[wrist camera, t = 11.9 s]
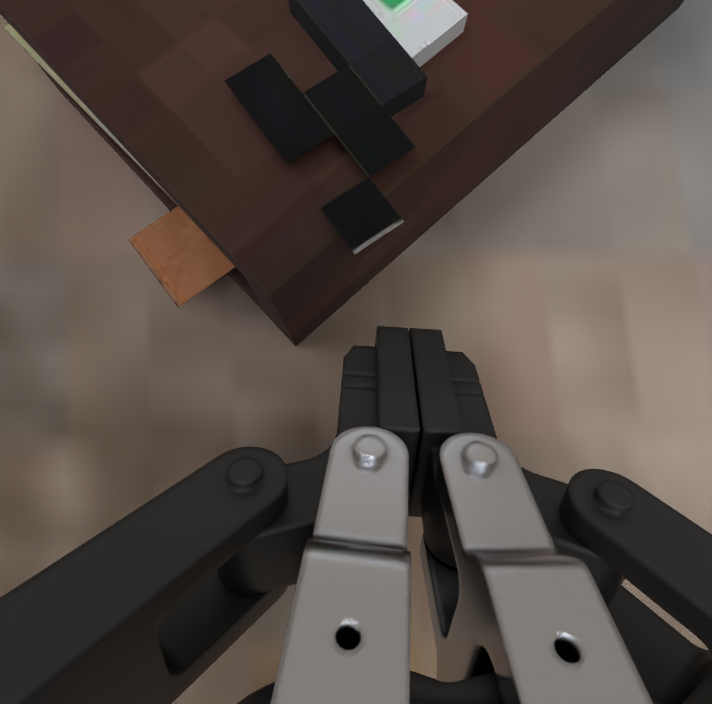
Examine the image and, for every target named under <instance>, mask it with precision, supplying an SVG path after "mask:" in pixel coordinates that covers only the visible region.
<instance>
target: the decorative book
mask: <svg viewBox="0 0 712 704" xmlns="http://www.w3.org/2000/svg"><path fill="white" fill-rule="evenodd" d="M683 1H684V0H0V14H1V15H2V16H3V17H4V18H5V19H6V21H7V22H8V24H6V25H5V26H3V28H4V29H5V30H6V31H7V32H8V33H9V34H10V35H11V36H12V37H13V38H14V39H15V40H16V41H17V42H18V43H19V44H20V45H21V46H22V47H23V48H24V49H25V50H26V51H27V52H28V53H29V54H30V55H31V56H32V57H33V59H34V60H35V61H36V62H37V63H38V65H39V66H40V67H41V68H42V70H43V71H44V72H45V73H46V75H47V76H48V77H49V78H50V80H51V81H52V82H53V83H54V85H55V86H56V87H57V88H58V89H59V91H60V92H61V93H62V94H63V95H64V96H65V97H66V98H67V99H68V100H69V101H70V103H71V104H72V105H73V106H74V107H75V108H76V109H77V110H78V111H79V112H80V113H81V114H82V116H83V117H84V118H85V119H86V120H87V121H88V122H89V123H90V124H91V125H92V126H93V127H94V129H95V130H96V131H97V132H98V133H99V134H100V135H101V136H102V137H103V138H104V139H105V140H106V141H107V143H108V144H109V145H110V146H111V147H112V148H113V149H114V150H115V151H116V152H117V153H118V154H119V156H120V157H121V158H122V159H123V160H124V161H125V162H126V163H127V164H128V165H129V166H130V167H131V169H132V170H133V171H134V172H135V173H136V174H137V175H138V176H139V177H140V178H141V179H142V180H143V182H144V183H145V184H146V185H147V186H148V187H149V188H150V189H151V190H152V191H153V192H154V193H155V195H156V196H157V197H158V198H159V199H160V200H161V201H162V202H163V203H164V204H165V205H166V206H167V207H168V209H169V210H170V212H169V213H167V214H166V215H164V216H163V217H161V218H160V219H158V220H157V221H155V222H154V223H152V224H151V225H149V226H148V227H146V228H145V229H143V230H142V231H140V232H139V233H137V234H136V235H134V236H133V237H131V238H130V239H128V240H129V241H130V243H131V244H132V246H133V247H134V248H135V250H136V251H137V252H138V254H139V255H140V256H141V258H142V259H143V261H144V262H145V263H146V265H147V266H148V267H149V269H150V270H151V271H152V273H153V274H154V276H155V277H156V278H157V280H158V281H159V282H160V284H161V285H162V286H163V288H164V289H165V291H166V292H167V293H168V295H169V296H170V297H171V299H172V300H173V301H174V303H175V304H176V306H177V307H179V306H181V305H182V304H184V303H185V302H186V301H188V300H189V299H191V298H192V297H194V296H195V295H196V294H198V293H199V292H201V291H202V290H204V289H205V288H206V287H208V286H209V285H211V284H212V283H213V282H215V281H216V280H218V279H219V278H221V277H222V276H223V275H225V274H226V273H229V275H230V276H231V277H232V278H233V279H234V280H235V281H236V282H237V283H238V284H239V285H240V286H241V288H242V289H243V290H244V291H245V292H246V293H247V294H248V295H249V296H250V297H251V298H252V299H253V301H254V302H255V303H256V304H257V305H258V306H259V307H260V308H261V309H262V310H263V311H264V312H265V314H266V315H267V316H268V317H269V318H270V319H271V320H272V321H273V322H274V323H275V324H276V325H277V327H278V328H279V329H280V330H281V331H282V332H283V333H284V334H285V335H286V336H287V337H288V338H289V339H290V341H291V342H292V343H293V344H294V345H295V346H297V345H298V344H299V343H300V342H301V341H302V340H303V339H304V338H306V337H307V336H308V335H309V334H310V333H311V332H312V331H314V330H315V329H316V328H317V327H318V326H319V325H320V324H321V323H323V322H324V321H325V320H326V319H327V318H328V317H329V316H330V315H332V314H333V313H334V312H335V311H336V310H337V309H338V308H340V307H341V306H342V305H343V304H344V303H345V302H346V301H347V300H349V299H350V298H351V297H352V296H353V295H354V294H355V293H357V292H358V291H359V290H360V289H361V288H362V287H363V286H364V285H366V284H367V283H368V282H369V281H370V280H371V279H372V278H373V277H375V276H376V275H377V274H378V273H379V272H380V271H381V270H383V269H384V268H385V267H386V266H387V265H388V264H389V263H390V262H392V261H393V260H394V259H395V258H396V257H397V256H398V255H399V254H401V253H402V252H403V251H404V250H405V249H406V248H407V247H409V246H410V245H411V244H412V243H413V242H414V241H415V240H416V239H418V238H419V237H420V236H421V235H422V234H423V233H424V232H426V231H427V230H428V229H429V228H430V227H431V226H432V225H433V224H435V223H436V222H437V221H438V220H439V219H440V218H441V217H442V216H444V215H445V214H446V213H447V212H448V211H449V210H450V209H452V208H453V207H454V206H455V205H456V204H457V203H458V202H459V201H461V200H462V199H463V198H464V197H465V196H466V195H467V194H469V193H470V192H471V191H472V190H473V189H474V188H475V187H476V186H478V185H479V184H480V183H481V182H482V181H483V180H484V179H485V178H487V177H488V176H489V175H490V174H491V173H492V172H493V171H495V170H496V169H497V168H498V167H499V166H500V165H501V164H502V163H504V162H505V161H506V160H507V159H508V158H509V157H510V156H511V155H513V154H514V153H515V152H516V151H517V150H518V149H519V148H521V147H522V146H523V145H524V144H525V143H526V142H527V141H528V140H530V139H531V138H532V137H533V136H534V135H535V134H536V133H538V132H539V131H540V130H541V129H542V128H543V127H544V126H545V125H547V124H548V123H549V122H550V121H551V120H552V119H553V118H554V117H556V116H557V115H558V114H559V113H560V112H561V111H562V110H564V109H565V108H566V107H567V106H568V105H569V104H570V103H571V102H573V101H574V100H575V99H576V98H577V97H578V96H579V95H581V94H582V93H583V92H584V91H585V90H586V89H587V88H588V87H590V86H591V85H592V84H593V83H594V82H595V81H596V80H597V79H599V78H600V77H601V76H602V75H603V74H604V73H605V72H607V71H608V70H609V69H610V68H611V67H612V66H613V65H614V64H616V63H617V62H618V61H619V60H620V59H621V58H622V57H623V56H625V55H626V54H627V53H628V52H629V51H630V50H631V49H633V48H634V47H635V46H636V45H637V44H638V43H639V42H640V41H642V40H643V39H644V38H645V37H646V36H647V35H648V34H650V33H651V32H652V31H653V30H654V29H655V28H656V27H657V26H659V25H660V24H661V23H662V22H663V21H664V20H665V19H666V18H668V17H669V16H670V15H671V14H672V13H673V12H674V11H676V10H677V9H678V8H679V7H680V5H681V4H682V2H683Z"/></svg>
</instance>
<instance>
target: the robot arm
mask: <svg viewBox="0 0 712 704" xmlns="http://www.w3.org/2000/svg"><path fill="white" fill-rule="evenodd" d="M408 514H409V516H415V517H422V521H423V531H424V532H423V536H422V541H421V547H420V554H421V560H422V566H423V572H424V577H425V583H426V589H427V595H428V601H429V606H430V612H431V618H432V624H433V629H434V635H435V641H436V648H437V680H436V679H433V678H430V677H427V676H424V675H422V674H419V673H416V672H413V671H410V612H411V555H410V551H407V520H408ZM625 578H626V579H627V580H628V581H629V582H630V583H632V584H633V585H634V586H635V587H637V588H638V589H639V590H640V591H642V592H643V593H644V594H645V595H646V596H648V597H649V598H650V599H651V600H653V601H654V602H655V603H656V604H658V605H659V606H660V607H661V608H662V609H664V610H665V611H666V612H667V613H669V614H670V615H671V616H672V617H674V618H675V619H676V620H677V621H678V622H680V623H681V624H682V625H683V626H685V627H686V628H687V629H688V630H690V631H691V632H692V633H693V634H694V635H696V636H697V637H698V638H699V639H700V640H701V641H702V642H703V643H704V644H705V645H706V646H707V648H708V649H709V651H708V650H704V649H702V648H699V647H697V646H696V645H694V644H692V643H691V642H690V641H688V640H687V639H686V638H685V637H683V636H682V635H681V634H680V633H679V632H677V631H676V630H675V629H674V628H673V627H671V626H670V625H669V624H668V623H667V622H665V621H664V620H663V619H662V618H660V617H659V616H658V615H657V614H656V613H654V612H653V611H652V610H651V609H650V608H648V607H647V606H646V605H645V604H644V603H642V602H641V601H640V600H639V599H637V598H636V597H635V596H634V595H633V594H631V593H630V592H629V591H628V590H627V589H625V588H624V587H623V586H622V585H621V584H622V583H623V581H624V580H625ZM293 584H297V585H296V590H295V594H294V599H293V603H292V608H291V613H290V617H289V622H288V626H287V631H286V635H285V640H284V645H283V649H282V654H281V658H280V663H279V667H278V672H277V677H276V681H275V682H274V683H271V684H269V685H266V686H264V687H262V688H261V689H259V690H257V691H255V692H253V693H251V694H250V695H248V696H247V697H245V698H244V699H243V700H241V701H240V702H238V703H237V704H712V534H710V533H709V532H707V531H706V530H704V529H703V528H701V527H700V526H698V525H697V524H695V523H694V522H692V521H691V520H689V519H688V518H686V517H685V516H683V515H682V514H680V513H679V512H677V511H676V510H674V509H673V508H671V507H670V506H668V505H667V504H665V503H664V502H662V501H661V500H659V499H658V498H656V497H655V496H653V495H652V494H650V493H649V492H647V491H646V490H644V489H643V488H641V487H640V486H639V485H637V484H636V483H634V482H632V481H631V480H629V479H627V478H625V477H623V476H621V475H619V474H616V473H614V472H610V471H606V470H600V469H587V470H583V471H580V472H578V473H576V474H575V475H574V476H573V477H572V478H571V480H570V481H569V484H566V483H563V482H560V481H557V480H553V479H550V478H547V477H544V476H540V475H537V474H535V473H532V472H530V471H528V470H526V469H524V468H522V467H520V465H519V462H518V460H517V458H516V456H515V455H514V453H513V452H512V451H511V450H510V449H509V448H508V447H507V446H506V445H505V444H503V443H502V442H500V441H499V440H497V437H496V434H495V430H494V427H493V424H492V420H491V417H490V414H489V410H488V407H487V404H486V400H485V397H484V396H483V391H482V387H481V384H480V383H479V377H478V374H477V371H476V367H475V365H474V364H473V363H472V362H471V361H470V360H469V359H468V358H467V357H466V356H465V355H464V354H463V352H452V351H446V348H445V344H444V340H443V335H442V331H441V330H433V329H418V328H410V329H409V332H408V328H400V327H384V326H377V330H376V340H375V347H370V346H353V347H352V348H351V350H350V351H349V352H348V353H347V354H346V355H345V357H344V361H343V373H342V383H341V395H340V406H339V417H338V428H337V435H336V438H335V440H334V442H333V443H332V445H331V446H330V447H329V448H328V449H327V450H326V451H324V452H323V453H321V454H320V455H318V456H316V457H313V458H311V459H308V460H304V461H299V462H294V463H289V464H285V463H284V461H283V460H282V459H281V458H280V457H279V456H278V455H277V454H275V453H274V452H272V451H270V450H267V449H264V448H260V447H242V448H236V449H233V450H230V451H227V452H225V453H223V454H221V455H220V456H218V457H216V458H215V459H213V460H212V461H210V462H209V463H207V464H206V465H204V466H203V467H201V468H199V469H198V470H196V471H195V472H193V473H192V474H190V475H189V476H187V477H186V478H184V479H183V480H181V481H179V482H178V483H176V484H175V485H173V486H172V487H170V488H169V489H167V490H166V491H164V492H162V493H161V494H159V495H158V496H156V497H155V498H153V499H152V500H150V501H149V502H147V503H146V504H144V505H142V506H141V507H139V508H138V509H136V510H135V511H133V512H132V513H130V514H129V515H127V516H125V517H124V518H122V519H121V520H119V521H118V522H116V523H115V524H113V525H112V526H110V527H109V528H107V529H105V530H104V531H102V532H101V533H99V534H98V535H96V536H95V537H93V538H92V539H90V540H88V541H87V542H85V543H84V544H82V545H81V546H79V547H78V548H76V549H75V550H73V551H72V552H70V553H68V554H67V555H65V556H64V557H62V558H61V559H59V560H58V561H56V562H55V563H53V564H51V565H50V566H48V567H47V568H45V569H44V570H42V571H41V572H39V573H38V574H36V575H35V576H33V577H31V578H30V579H28V580H27V581H25V582H24V583H22V584H21V585H19V586H18V587H16V588H14V589H13V590H11V591H10V592H8V593H7V594H5V595H4V596H2V597H1V598H0V704H172V703H173V702H174V701H175V700H176V699H177V698H178V697H179V696H180V695H181V694H182V693H183V692H184V691H185V690H186V689H187V688H188V687H189V686H190V685H191V684H192V683H193V682H194V681H195V680H196V679H197V678H198V677H199V676H200V675H201V674H202V673H203V672H204V671H205V670H206V669H207V668H208V667H209V666H210V665H211V664H213V663H214V662H215V661H216V660H217V659H218V658H219V657H220V656H221V655H222V654H223V653H224V652H225V651H226V650H227V649H228V648H229V647H230V646H231V645H232V644H233V643H234V642H235V641H236V640H237V639H238V638H239V637H240V636H241V635H242V634H243V633H244V632H245V631H246V630H247V629H248V628H249V627H250V626H251V625H252V624H253V623H254V622H255V621H256V620H258V619H259V618H260V617H261V616H262V615H263V614H264V613H265V612H266V611H267V610H268V609H269V608H270V607H271V606H272V605H273V604H274V603H275V602H276V601H277V600H278V599H279V598H280V597H281V596H282V595H283V593H284V592H285V590H286V589H287V587H288V586H290V585H293Z"/></svg>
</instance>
